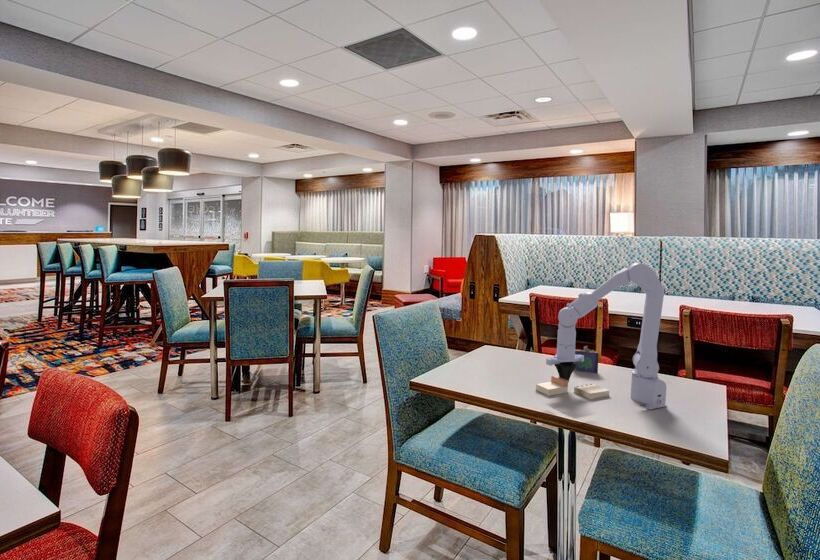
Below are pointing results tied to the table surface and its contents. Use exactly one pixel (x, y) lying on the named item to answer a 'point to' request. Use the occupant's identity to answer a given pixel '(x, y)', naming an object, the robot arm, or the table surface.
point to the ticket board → (591, 391)
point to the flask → (587, 360)
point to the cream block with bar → (553, 386)
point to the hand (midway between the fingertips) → (564, 384)
